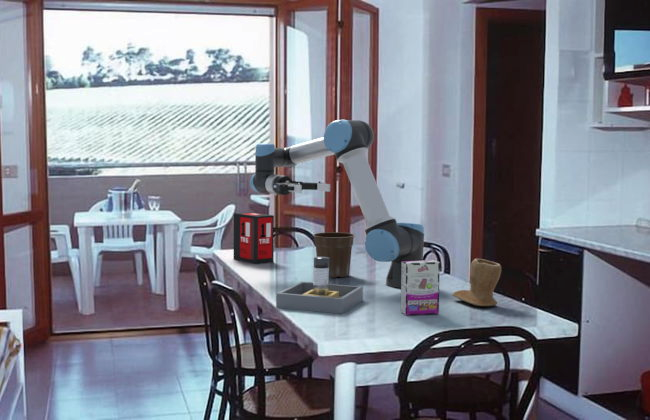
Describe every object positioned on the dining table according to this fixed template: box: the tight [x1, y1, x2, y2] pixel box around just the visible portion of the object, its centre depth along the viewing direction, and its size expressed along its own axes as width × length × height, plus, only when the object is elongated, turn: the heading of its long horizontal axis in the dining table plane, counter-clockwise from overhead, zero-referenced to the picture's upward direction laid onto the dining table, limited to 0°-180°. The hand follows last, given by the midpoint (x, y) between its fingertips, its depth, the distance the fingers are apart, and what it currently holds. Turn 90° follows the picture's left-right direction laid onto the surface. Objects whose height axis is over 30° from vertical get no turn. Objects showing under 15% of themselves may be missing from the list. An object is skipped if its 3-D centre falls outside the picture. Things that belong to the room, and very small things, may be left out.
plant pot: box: [312, 231, 356, 279], centre depth 317 cm, size 16×16×16 cm
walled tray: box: [275, 281, 364, 314], centre depth 265 cm, size 22×22×4 cm
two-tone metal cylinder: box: [312, 256, 330, 296], centre depth 264 cm, size 5×5×14 cm
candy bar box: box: [400, 259, 441, 316], centre depth 253 cm, size 11×5×16 cm, turn 105°
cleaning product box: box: [233, 211, 275, 265], centre depth 349 cm, size 16×9×20 cm, turn 42°
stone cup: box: [452, 258, 502, 307], centre depth 269 cm, size 15×12×15 cm
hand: (315, 188), depth 297 cm, fingers open, 13 cm apart
